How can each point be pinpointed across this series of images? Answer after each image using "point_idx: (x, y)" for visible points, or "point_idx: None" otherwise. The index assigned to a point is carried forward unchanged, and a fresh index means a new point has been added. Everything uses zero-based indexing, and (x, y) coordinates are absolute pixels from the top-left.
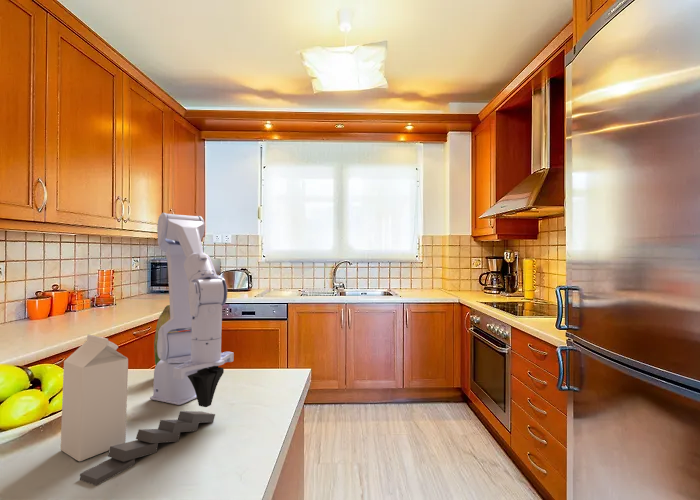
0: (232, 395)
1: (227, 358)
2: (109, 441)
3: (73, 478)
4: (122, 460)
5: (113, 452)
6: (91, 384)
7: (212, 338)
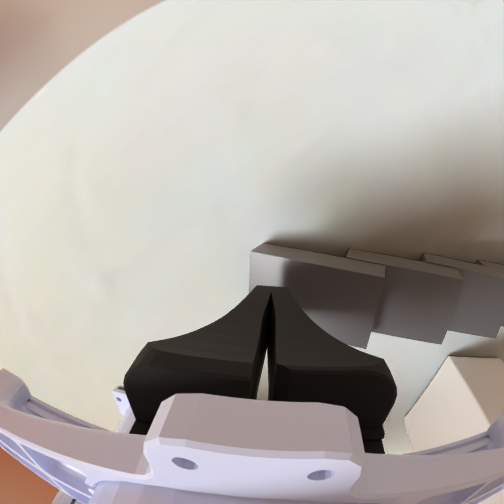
0: (71, 319)
1: (27, 416)
2: (479, 368)
3: None
4: None
5: None
6: None
7: None
